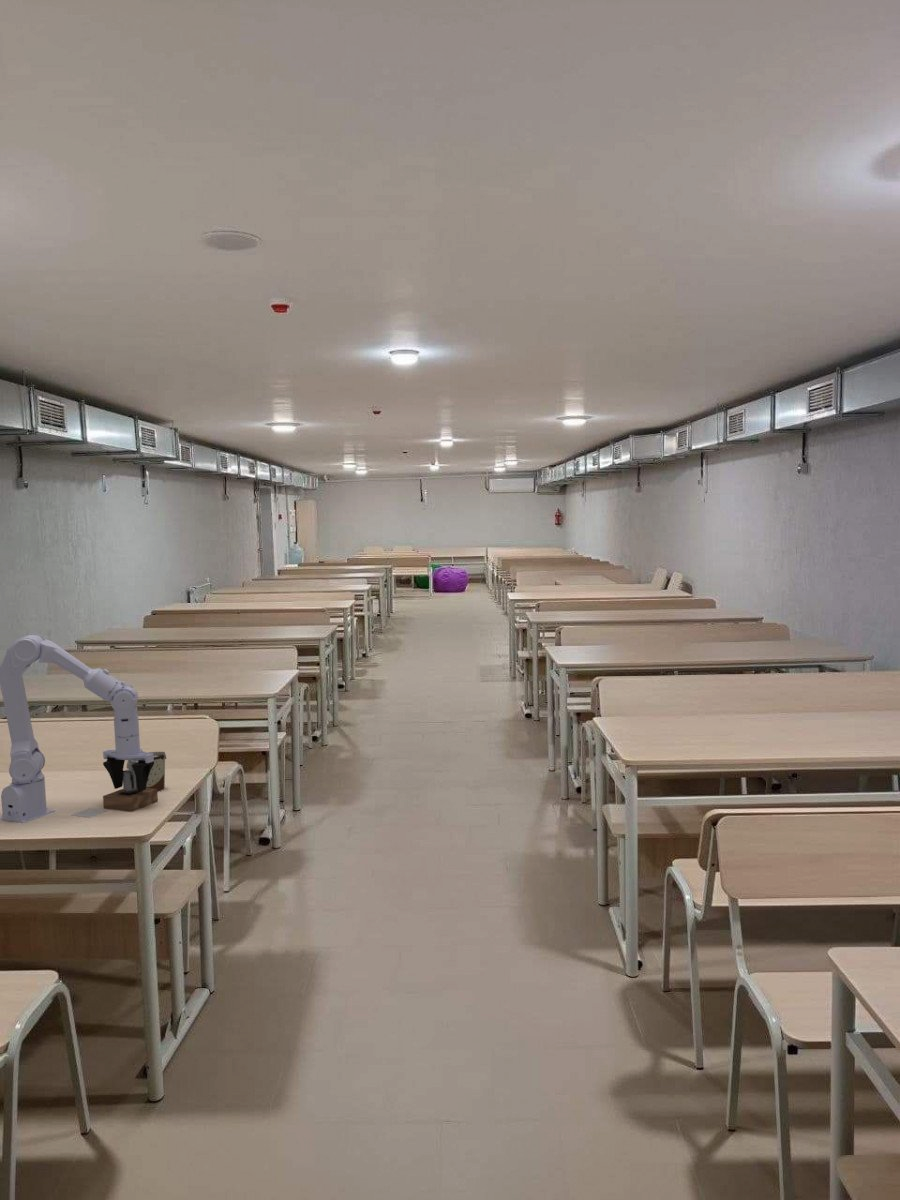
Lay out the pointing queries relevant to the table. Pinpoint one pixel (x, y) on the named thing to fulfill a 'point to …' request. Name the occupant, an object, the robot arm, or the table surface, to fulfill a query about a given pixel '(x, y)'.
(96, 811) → the mat
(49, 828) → the table surface
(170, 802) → the table surface
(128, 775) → the peg
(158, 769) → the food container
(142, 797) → the hole block
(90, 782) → the table surface
